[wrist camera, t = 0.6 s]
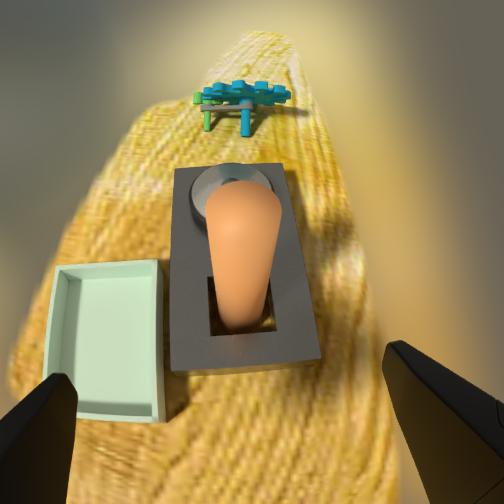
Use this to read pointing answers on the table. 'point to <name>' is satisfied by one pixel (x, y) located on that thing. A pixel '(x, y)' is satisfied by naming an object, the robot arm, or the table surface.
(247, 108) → the gear
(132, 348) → the tray
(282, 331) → the plate
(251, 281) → the pin
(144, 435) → the table surface
